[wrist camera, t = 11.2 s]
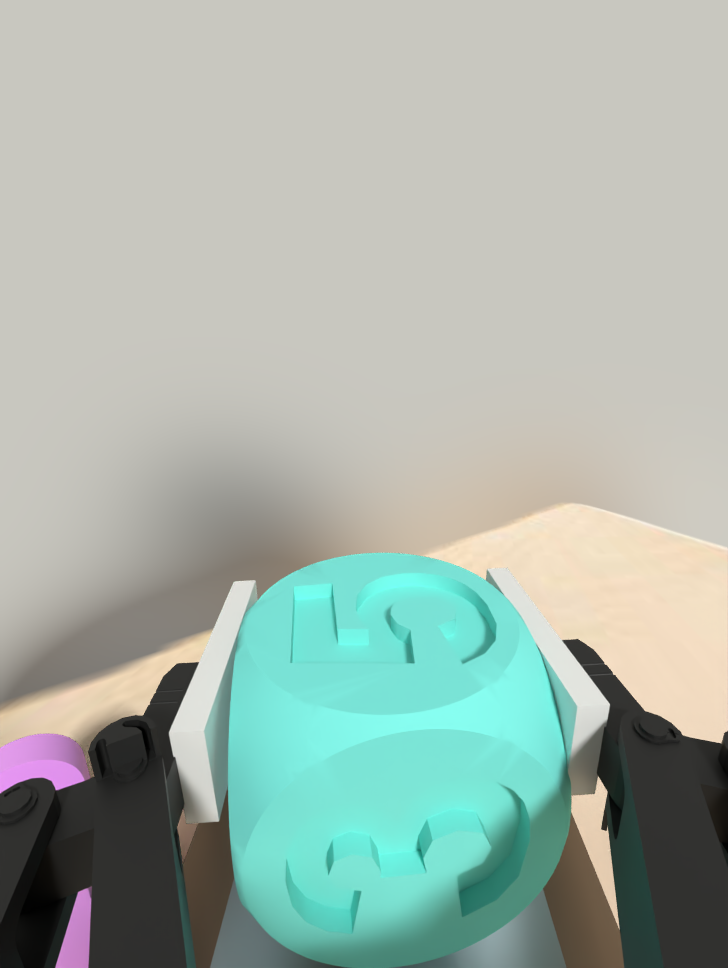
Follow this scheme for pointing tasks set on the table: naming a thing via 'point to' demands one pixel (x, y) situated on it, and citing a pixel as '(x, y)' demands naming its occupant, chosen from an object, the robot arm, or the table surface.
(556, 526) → the table surface
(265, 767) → the decorative dice
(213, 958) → the plinth
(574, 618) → the table surface
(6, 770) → the bracket
